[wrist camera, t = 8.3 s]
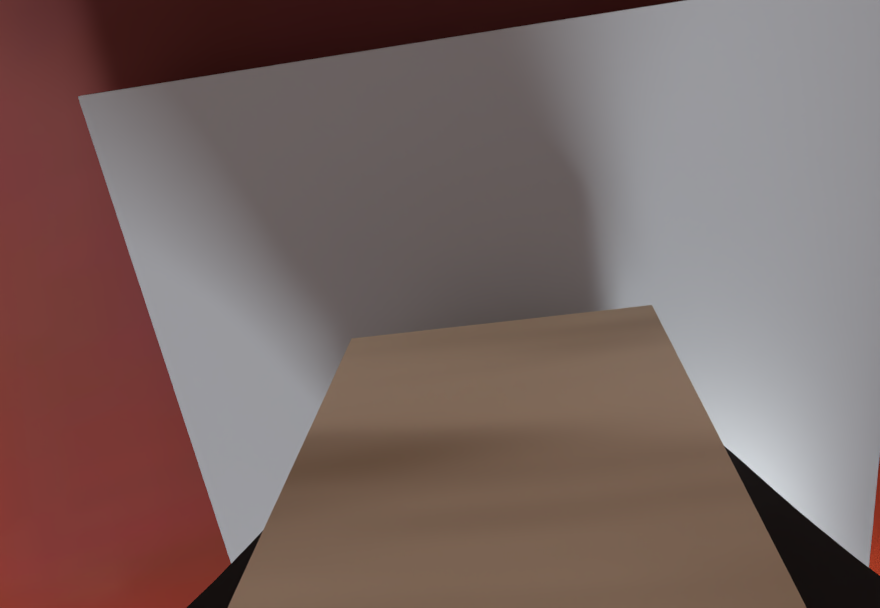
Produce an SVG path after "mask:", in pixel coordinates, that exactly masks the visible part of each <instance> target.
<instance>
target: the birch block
mask: <svg viewBox="0 0 880 608" xmlns="http://www.w3.org/2000/svg"><path fill="white" fill-rule="evenodd" d="M228 608H806V606H805V604H804V602H803V600H802V598H801V596H800V594H799V592H798V590H797V588H796V586H795V584H794V582H793V580H792V578H791V576H790V574H789V572H788V570H787V568H786V566H785V565H784V563H783V561H782V559H781V557H780V555H779V553H778V551H777V549H776V547H775V545H774V543H773V541H772V539H771V537H770V535H769V533H768V531H767V529H766V527H765V525H764V523H763V521H762V520H761V518H760V516H759V514H758V512H757V510H756V508H755V506H754V504H753V502H752V500H751V498H750V496H749V494H748V492H747V490H746V488H745V486H744V484H743V482H742V480H741V478H740V476H739V474H738V473H737V471H736V469H735V467H734V465H733V463H732V461H731V459H730V457H729V455H728V453H727V451H726V449H725V447H724V445H723V443H722V441H721V439H720V437H719V435H718V433H717V431H716V429H715V428H714V426H713V424H712V422H711V420H710V418H709V416H708V414H707V412H706V410H705V408H704V406H703V404H702V402H701V400H700V398H699V396H698V394H697V392H696V390H695V388H694V386H693V384H692V383H691V381H690V379H689V377H688V375H687V373H686V371H685V369H684V367H683V365H682V363H681V361H680V359H679V357H678V355H677V353H676V351H675V349H674V347H673V345H672V343H671V341H670V339H669V337H668V336H667V334H666V332H665V330H664V328H663V326H662V324H661V322H660V320H659V318H658V316H657V314H656V312H655V310H654V308H653V306H652V305H647V306H638V307H629V308H620V309H611V310H602V311H593V312H584V313H575V314H566V315H557V316H549V317H540V318H531V319H522V320H513V321H504V322H495V323H486V324H477V325H468V326H459V327H450V328H441V329H432V330H423V331H414V332H405V333H396V334H387V335H378V336H369V337H360V338H352V339H351V341H350V343H349V345H348V347H347V349H346V352H345V354H344V356H343V358H342V360H341V362H340V365H339V367H338V369H337V371H336V373H335V375H334V378H333V380H332V382H331V384H330V386H329V389H328V391H327V393H326V395H325V397H324V399H323V402H322V404H321V406H320V408H319V410H318V412H317V415H316V417H315V419H314V421H313V423H312V425H311V428H310V430H309V432H308V434H307V436H306V438H305V441H304V443H303V445H302V447H301V449H300V452H299V454H298V456H297V458H296V460H295V462H294V465H293V467H292V469H291V471H290V473H289V475H288V478H287V480H286V482H285V484H284V486H283V488H282V491H281V493H280V495H279V497H278V499H277V501H276V504H275V506H274V508H273V510H272V512H271V515H270V517H269V519H268V521H267V523H266V525H265V528H264V530H263V532H262V534H261V536H260V538H259V541H258V543H257V545H256V547H255V549H254V551H253V554H252V556H251V558H250V560H249V562H248V564H247V567H246V569H245V571H244V573H243V575H242V578H241V580H240V582H239V584H238V586H237V588H236V591H235V593H234V595H233V597H232V599H231V601H230V604H229V606H228Z"/></svg>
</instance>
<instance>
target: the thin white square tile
mask: <svg viewBox="0 0 880 608" xmlns="http://www.w3.org/2000/svg"><path fill="white" fill-rule="evenodd" d="M78 98H79V101H80V104H81V107H82V111H83V114H84V117H85V120H86V123H87V126H88V129H89V132H90V135H91V138H92V141H93V144H94V147H95V150H96V153H97V156H98V159H99V162H100V165H101V168H102V171H103V174H104V178H105V181H106V184H107V187H108V190H109V193H110V196H111V199H112V202H113V205H114V208H115V211H116V214H117V217H118V220H119V223H120V226H121V229H122V232H123V235H124V238H125V241H126V245H127V248H128V251H129V254H130V257H131V260H132V263H133V266H134V269H135V272H136V275H137V278H138V281H139V284H140V287H141V290H142V293H143V296H144V299H145V302H146V305H147V308H148V312H149V315H150V318H151V321H152V324H153V327H154V330H155V333H156V336H157V339H158V342H159V345H160V348H161V351H162V354H163V357H164V360H165V363H166V366H167V369H168V372H169V375H170V379H171V382H172V385H173V388H174V391H175V394H176V397H177V400H178V403H179V406H180V409H181V412H182V415H183V418H184V421H185V424H186V427H187V430H188V433H189V436H190V439H191V442H192V446H193V449H194V452H195V455H196V458H197V461H198V464H199V467H200V470H201V473H202V476H203V479H204V482H205V485H206V488H207V491H208V494H209V497H210V500H211V503H212V506H213V509H214V512H215V516H216V519H217V522H218V525H219V528H220V531H221V534H222V537H223V540H224V543H225V546H226V549H227V552H228V555H229V558H230V561H231V563H232V562H233V561H234V560H235V559H236V558H237V557H238V556H239V555H240V554H241V553H242V552H243V551H244V550H245V549H246V548H247V547H248V546H249V545H250V544H251V543H252V542H253V541H254V539H255V538H256V537H257V536H258V535H259V534H260V533H261V532H262V531H263V530H264V528H265V525H266V523H267V521H268V519H269V517H270V515H271V512H272V510H273V508H274V506H275V504H276V501H277V499H278V497H279V495H280V493H281V491H282V488H283V486H284V484H285V482H286V480H287V478H288V475H289V473H290V471H291V469H292V467H293V465H294V462H295V460H296V458H297V456H298V454H299V452H300V449H301V447H302V445H303V443H304V441H305V438H306V436H307V434H308V432H309V430H310V428H311V425H312V423H313V421H314V419H315V417H316V415H317V412H318V410H319V408H320V406H321V404H322V402H323V399H324V397H325V395H326V393H327V391H328V389H329V386H330V384H331V382H332V380H333V378H334V375H335V373H336V371H337V369H338V367H339V365H340V362H341V360H342V358H343V356H344V354H345V352H346V349H347V347H348V345H349V343H350V341H351V339H352V338H360V337H369V336H378V335H387V334H396V333H405V332H414V331H423V330H432V329H441V328H450V327H459V326H468V325H477V324H486V323H495V322H504V321H513V320H522V319H531V318H540V317H549V316H557V315H566V314H575V313H584V312H593V311H602V310H611V309H620V308H629V307H638V306H647V305H652V306H653V308H654V310H655V312H656V314H657V316H658V318H659V320H660V322H661V324H662V326H663V328H664V330H665V332H666V334H667V336H668V337H669V339H670V341H671V343H672V345H673V347H674V349H675V351H676V353H677V355H678V357H679V359H680V361H681V363H682V365H683V367H684V369H685V371H686V373H687V375H688V377H689V379H690V381H691V383H692V384H693V386H694V388H695V390H696V392H697V394H698V396H699V398H700V400H701V402H702V404H703V406H704V408H705V410H706V412H707V414H708V416H709V418H710V420H711V422H712V424H713V426H714V428H715V429H716V431H717V433H718V435H719V437H720V439H721V441H722V443H723V445H724V446H725V447H726V448H727V449H729V450H730V451H731V452H732V453H733V454H735V455H736V456H737V457H738V458H739V459H740V460H741V461H742V462H744V463H745V464H746V465H747V466H748V467H749V468H750V469H751V470H752V471H754V472H755V473H756V474H757V475H758V476H759V477H760V478H761V479H763V480H764V481H765V482H766V483H767V484H768V485H769V486H770V487H772V488H773V489H774V490H775V491H776V492H777V493H778V494H780V495H781V496H782V497H783V498H784V499H785V500H786V501H788V502H789V503H790V504H791V505H792V506H793V507H795V508H796V509H797V510H798V511H799V512H800V513H802V514H803V515H804V516H805V517H806V518H808V519H809V520H810V521H811V522H812V523H814V524H815V525H816V526H817V527H818V528H820V529H821V530H822V531H823V532H825V533H826V534H827V535H828V536H830V537H831V538H832V539H833V540H835V541H836V542H837V543H838V544H839V545H841V546H842V547H843V548H844V549H846V550H847V551H848V552H849V553H851V554H852V555H853V556H854V557H856V558H857V559H858V560H859V561H861V562H862V563H863V564H865V565H866V566H867V567H869V561H870V550H871V540H872V529H873V519H874V509H875V498H876V488H877V477H878V467H879V457H880V0H682V1H676V2H669V3H663V4H657V5H650V6H644V7H638V8H631V9H625V10H619V11H612V12H606V13H600V14H593V15H587V16H581V17H575V18H568V19H562V20H556V21H549V22H543V23H537V24H530V25H524V26H518V27H511V28H505V29H499V30H492V31H486V32H480V33H473V34H467V35H461V36H454V37H448V38H442V39H435V40H429V41H423V42H416V43H410V44H404V45H397V46H391V47H385V48H378V49H372V50H366V51H359V52H353V53H347V54H340V55H334V56H328V57H321V58H315V59H309V60H303V61H296V62H290V63H284V64H277V65H271V66H265V67H258V68H252V69H246V70H239V71H233V72H227V73H220V74H214V75H208V76H201V77H195V78H189V79H182V80H176V81H170V82H163V83H157V84H151V85H144V86H138V87H132V88H125V89H119V90H113V91H106V92H100V93H94V94H88V95H83V96H78Z"/></svg>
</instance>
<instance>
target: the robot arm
mask: <svg viewBox="0 0 880 608" xmlns="http://www.w3.org/2000/svg"><path fill="white" fill-rule="evenodd" d="M724 447H725V446H724ZM725 449H726V451H727V453H728V455H729V457H730V459H731V461H732V463H733V465H734V467H735V469H736V471H737V473H738V474H739V476H740V478H741V480H742V482H743V484H744V486H745V488H746V490H747V492H748V494H749V496H750V498H751V500H752V502H753V504H754V506H755V508H756V510H757V512H758V514H759V516H760V518H761V520H762V521H763V523H764V525H765V527H766V529H767V531H768V533H769V535H770V537H771V539H772V541H773V543H774V545H775V547H776V549H777V551H778V553H779V555H780V557H781V559H782V561H783V563H784V565H785V566H786V568H787V570H788V572H789V574H790V576H791V578H792V580H793V582H794V584H795V586H796V588H797V590H798V592H799V594H800V596H801V598H802V600H803V602H804V604H805V606H806V608H880V576H879V575H878V574H876V573H875V572H874V571H872V570H871V569H870V568H869V567H867V566H866V565H865V564H863V563H862V562H861V561H859V560H858V559H857V558H856V557H854V556H853V555H852V554H851V553H849V552H848V551H847V550H846V549H844V548H843V547H842V546H841V545H839V544H838V543H837V542H836V541H835V540H833V539H832V538H831V537H830V536H828V535H827V534H826V533H825V532H823V531H822V530H821V529H820V528H818V527H817V526H816V525H815V524H814V523H812V522H811V521H810V520H809V519H808V518H806V517H805V516H804V515H803V514H802V513H800V512H799V511H798V510H797V509H796V508H795V507H793V506H792V505H791V504H790V503H789V502H788V501H786V500H785V499H784V498H783V497H782V496H781V495H780V494H778V493H777V492H776V491H775V490H774V489H773V488H772V487H770V486H769V485H768V484H767V483H766V482H765V481H764V480H763V479H761V478H760V477H759V476H758V475H757V474H756V473H755V472H754V471H752V470H751V469H750V468H749V467H748V466H747V465H746V464H745V463H744V462H742V461H741V460H740V459H739V458H738V457H737V456H736V455H735V454H733V453H732V452H731V451H730V450H729V449H727V448H726V447H725ZM262 532H263V531H262ZM262 532H261V533H260V534H259V535H258V536H257V537H256V538H255V539H254V541H253V542H252V543H251V544H250V545H249V546H248V547H247V548H246V549H245V550H244V551H243V552H242V553H241V554H240V555H239V556H238V557H237V558H236V559H235V560H234V561H233V562H232V563H231V564H230V565H229V567H228V568H227V569H226V570H225V571H224V572H223V573H222V574H221V575H220V576H219V577H218V578H217V579H216V580H215V581H214V582H213V583H212V584H211V585H210V586H209V587H208V588H207V589H206V590H205V591H204V592H202V593H201V594H200V595H199V596H198V597H197V598H196V599H195V600H194V601H193V602H192V603H191V604H190V605H189V606H188V607H187V608H228V606H229V604H230V601H231V599H232V597H233V595H234V593H235V591H236V588H237V586H238V584H239V582H240V580H241V578H242V575H243V573H244V571H245V569H246V567H247V564H248V562H249V560H250V558H251V556H252V554H253V551H254V549H255V547H256V545H257V543H258V541H259V538H260V536H261V534H262Z"/></svg>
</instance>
